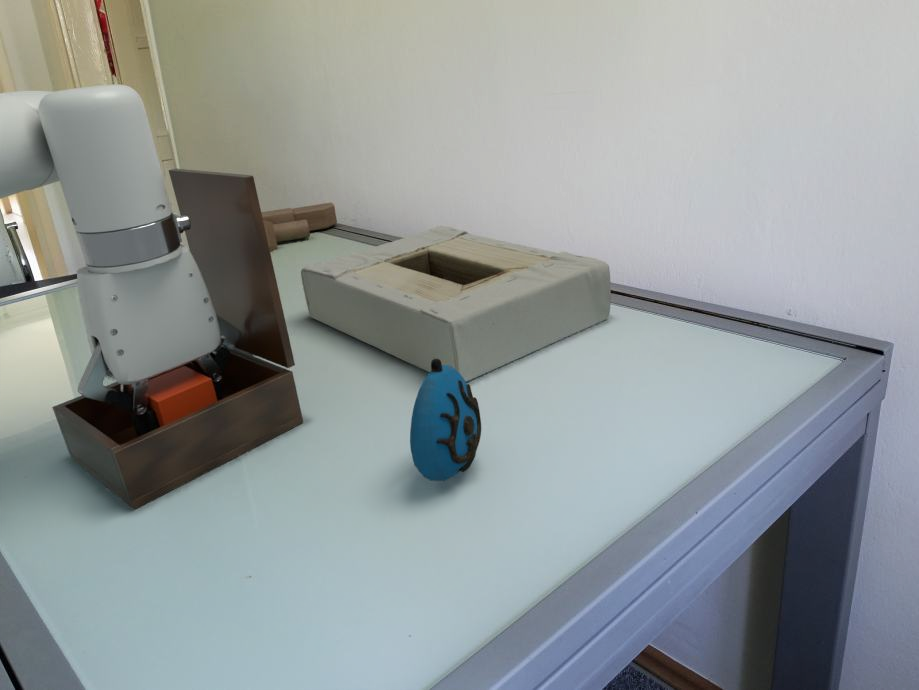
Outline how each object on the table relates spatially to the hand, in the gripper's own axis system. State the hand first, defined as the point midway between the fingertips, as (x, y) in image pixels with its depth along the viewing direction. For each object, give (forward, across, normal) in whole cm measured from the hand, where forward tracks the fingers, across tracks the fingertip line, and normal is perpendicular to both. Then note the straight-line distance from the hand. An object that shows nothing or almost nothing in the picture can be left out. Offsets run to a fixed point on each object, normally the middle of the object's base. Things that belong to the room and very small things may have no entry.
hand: (185, 430), depth 68 cm
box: (+1, -35, +1) cm, 35 cm away
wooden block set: (+1, -49, -53) cm, 72 cm away
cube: (0, 0, 0) cm, 0 cm away
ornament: (+1, -10, +24) cm, 27 cm away
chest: (+1, 0, 0) cm, 1 cm away
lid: (-14, -8, 0) cm, 16 cm away
